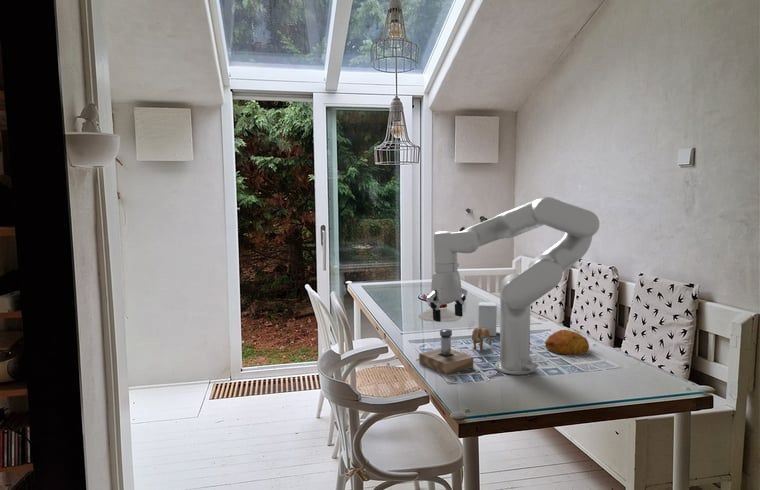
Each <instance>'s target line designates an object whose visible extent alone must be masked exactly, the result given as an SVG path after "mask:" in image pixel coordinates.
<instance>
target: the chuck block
mask: <svg viewBox="0 0 760 490" xmlns="http://www.w3.org/2000/svg"><path fill="white" fill-rule="evenodd" d="M418 361H419V363H418V364H421V365H422V366H425V367H428V368H430V369H432V370H434V371H437V372H439V373H441V374H444V375H446V374H447V375H450V374H454V373H458V372H462V371H464V370H468V368H469V369H473V368H474V356H471V355H470V354H469V355H468V354H466V353H463V352H460V351H457V350H455V349H451V356H450V357H446V358H445V357H442V356H441V347H440V348H436V349H430V350H428V351H423V352H419V353H418Z"/></svg>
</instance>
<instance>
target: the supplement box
mask: <svg viewBox="0 0 760 490" xmlns="http://www.w3.org/2000/svg"><path fill="white" fill-rule="evenodd" d="M477 307H478V310H477V311H478V313H477V315H478V317H477V328H481V329H484V328H486V329H488V330H489V333H490V337H496V336H497V309H498V308H497V302H496V301H495V302H494V301H493V302H491V301H490V302H485V301H484V302H481V301H478V306H477Z"/></svg>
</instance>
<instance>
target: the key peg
mask: <svg viewBox="0 0 760 490" xmlns="http://www.w3.org/2000/svg"><path fill="white" fill-rule="evenodd" d="M439 335H440V338H441V339H440V348H441V356H442V357H445V358H446V357H450V356H451V348H452V347H451V345H452V344H451V343H452V342H451V340H452V339H451V338H452V335H453V330H452V329H450V328H449V329H448V328H443V329H440V330H439Z"/></svg>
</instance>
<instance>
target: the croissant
mask: <svg viewBox="0 0 760 490" xmlns="http://www.w3.org/2000/svg"><path fill="white" fill-rule="evenodd" d="M544 345H545V348H546V349H547V350H549V351H551V352H554V353H556V354H562V355H566V356H574V355H576V356H577V355H582V354H587V353H588V352H589V349H590V345H589V341H588V339H587V338H586V337H584V336H583V335H581V334H580V333H579V332H576V331H572V330H567V329H560V330H557V331H555V332H554V333H552V334H550V335H549V336H548V337H547V339H546V340H545V342H544Z"/></svg>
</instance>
